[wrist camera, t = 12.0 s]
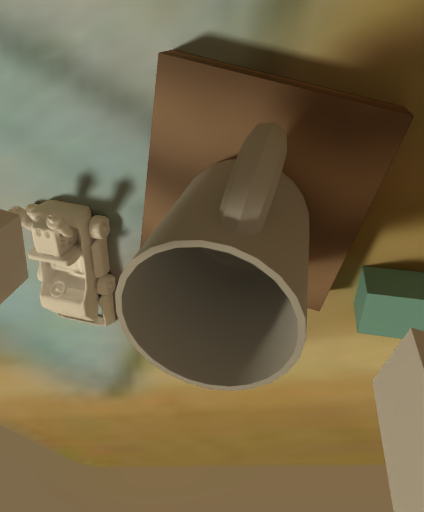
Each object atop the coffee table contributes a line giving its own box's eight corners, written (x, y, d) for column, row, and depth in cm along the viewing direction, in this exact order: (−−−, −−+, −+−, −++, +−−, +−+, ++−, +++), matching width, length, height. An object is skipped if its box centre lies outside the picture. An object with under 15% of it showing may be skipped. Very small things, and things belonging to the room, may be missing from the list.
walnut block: (172, 49, 19) (158, 52, 18) (405, 107, 18) (413, 116, 16) (150, 241, 26) (139, 256, 24) (319, 292, 25) (319, 311, 23)
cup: (173, 249, 23) (108, 354, 16) (209, 80, 18) (132, 124, 10) (284, 286, 23) (268, 412, 16) (356, 125, 17) (386, 204, 10)
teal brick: (353, 301, 25) (357, 332, 22) (362, 264, 23) (367, 293, 21) (452, 313, 24) (468, 348, 21) (468, 275, 22) (488, 307, 20)
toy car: (57, 308, 33) (25, 344, 29) (28, 179, 26) (-17, 204, 22) (122, 323, 32) (97, 361, 28) (109, 192, 25) (75, 221, 21)
